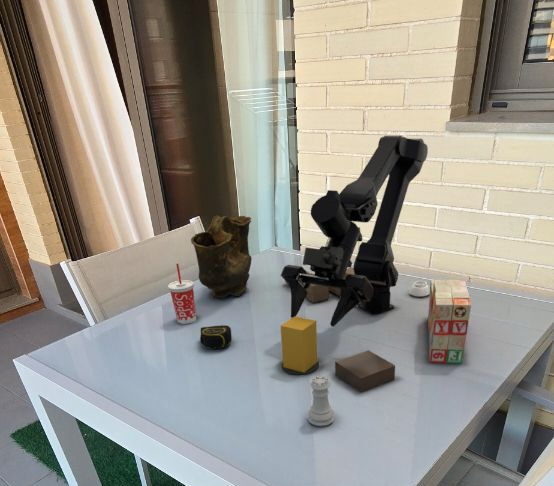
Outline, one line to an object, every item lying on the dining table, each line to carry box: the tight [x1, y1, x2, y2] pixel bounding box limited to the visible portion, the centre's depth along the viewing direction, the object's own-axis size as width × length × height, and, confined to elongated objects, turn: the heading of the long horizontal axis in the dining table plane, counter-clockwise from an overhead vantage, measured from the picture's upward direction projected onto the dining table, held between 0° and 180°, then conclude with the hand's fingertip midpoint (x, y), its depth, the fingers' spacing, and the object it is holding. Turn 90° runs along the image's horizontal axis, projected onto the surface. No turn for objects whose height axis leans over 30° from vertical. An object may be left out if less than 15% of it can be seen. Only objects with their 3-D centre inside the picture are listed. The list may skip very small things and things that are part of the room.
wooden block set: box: [304, 267, 355, 304], centre depth 143 cm, size 17×6×18 cm
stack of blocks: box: [427, 279, 472, 364], centre depth 110 cm, size 21×6×12 cm, turn 168°
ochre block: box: [280, 315, 318, 373], centre depth 106 cm, size 5×5×9 cm
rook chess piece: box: [307, 375, 335, 428], centre depth 89 cm, size 4×4×8 cm
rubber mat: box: [281, 360, 320, 376], centre depth 108 cm, size 8×8×1 cm
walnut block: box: [334, 349, 396, 393], centre depth 102 cm, size 8×8×3 cm
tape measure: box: [199, 324, 233, 349], centre depth 118 cm, size 7×7×4 cm
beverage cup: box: [167, 262, 197, 325], centre depth 128 cm, size 6×6×14 cm
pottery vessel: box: [190, 215, 252, 299], centre depth 141 cm, size 25×11×20 cm, turn 162°
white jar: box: [409, 280, 430, 298], centre depth 135 cm, size 5×3×5 cm
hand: (311, 321), depth 107 cm, fingers open, 9 cm apart
